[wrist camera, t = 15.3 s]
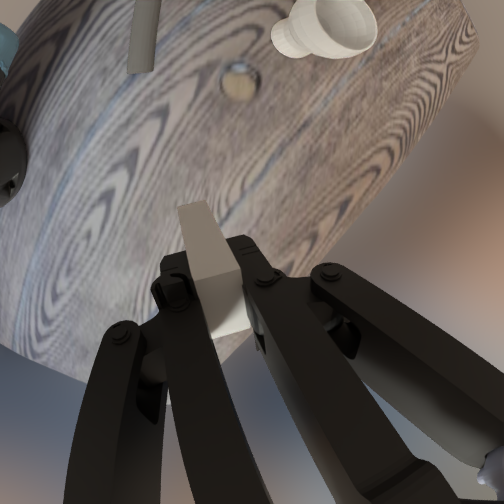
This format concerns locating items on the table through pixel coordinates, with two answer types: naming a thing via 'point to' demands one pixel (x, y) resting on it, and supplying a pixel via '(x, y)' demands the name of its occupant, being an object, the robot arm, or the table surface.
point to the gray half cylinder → (143, 36)
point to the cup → (326, 29)
